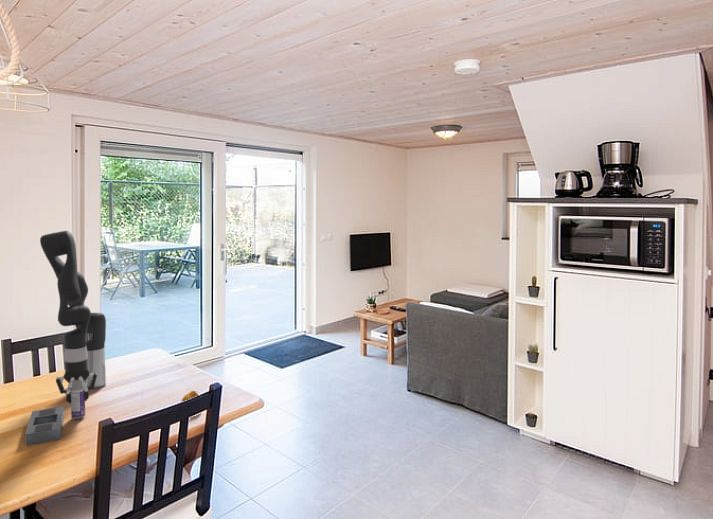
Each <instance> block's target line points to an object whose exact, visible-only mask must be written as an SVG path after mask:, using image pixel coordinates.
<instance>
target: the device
mask: <svg viewBox="0 0 713 519" xmlns="http://www.w3.org/2000/svg"><path fill="white" fill-rule="evenodd" d="M64 408H65V407H64V406H58V407H52V408H44V409H39V410H33V411H31V414H30V419H29V421H28V424H27V427H26V430H25V433H24V436H25V438H24V439H25V446H31V445H36V444H37V445H38V444H43V443H48V442H53V441H58V440H61V436H62V430H63V424H64V418H65V412H64V410H65V409H64Z"/></svg>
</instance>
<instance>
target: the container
mask: <svg viewBox="0 0 713 519" xmlns="http://www.w3.org/2000/svg"><path fill="white" fill-rule="evenodd" d="M84 392H85V390H84V388H83V386H82V381H81V380H79V379H75V380H73V382H72V388H71V390H70V394H71V403H70V415H71V416H70V417H71V418H72V419H75V420H77V419H82V418H84V417H85V416H86V401H85V398H84Z"/></svg>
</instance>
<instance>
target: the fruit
mask: <svg viewBox="0 0 713 519" xmlns="http://www.w3.org/2000/svg"><path fill="white" fill-rule="evenodd" d="M198 395H199V393H198V392H197V391H196V390H195V391H194V390H192V391H190V392H187V393H186V394H185V395H184V396H183V397H182V398H181V402H182V401H185V400H188V399H190V398H193V397H195V396H198ZM199 396H200V395H199ZM181 402H180V403H181Z"/></svg>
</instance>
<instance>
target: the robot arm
mask: <svg viewBox="0 0 713 519" xmlns="http://www.w3.org/2000/svg"><path fill="white" fill-rule="evenodd" d="M39 242H40V246H41V249H42V252H43V253H44V255H45V257H46V259H47V261H48V263H49V264H50V266H51V268H52V269H53V272H54V274H55V277H56V279H57V281H56V282H57V291H58V295H59V308H58V314H57V321H58V323H59V324H60V325H61V326H62V327H70V326H75V329H72V330H69V331H67V332H66V333H64V337H63V339H64V351H63V352H64V353H63V354H64V356H63V357H64V358H63V360H64V374H63V376H56V378H55V383H56V386H57V388H58V390H59V393H60V394H64V395H65V398H66V399H65V400H66V402H67V403H68V404H71V394H70V390H71V388H72V382H73V380H75V379H79V380H81V381H82V386H83V388H84V390H85V392H84V398H85V402H87V401H88V400H89V398H90V395H89V394H90V393H89V391H91V390H93V389H97V388H100V387H104V386H106V384H107V382H106V381H107V378H106V377H107V376H106V375H107V374H106V355H105V354H106V351H105V350H106V348H105V344H106V329H107V327H106V326H107V320H106V316H105V314H104V313H102V312H91V309H90V308H89V307H88V306H87V305H84V304H85V300H86V298H87V297H88V293H89V287H88V284H87V282H86V279H85V277H84V276H83V274H82V273H80V272H79V271H78V262H77V261H78V260H77V248H76V241H75V239H74V236H73V234H72V232H71V231H69V230H61V231H57V232H52V233H47V234H43V235H41V237H40V239H39ZM65 255H66V260H65V262H64V261H62V259H61V258H60V256H65ZM87 334H91V335H92V336H91V338H89V339H87ZM64 380H65V381H66V382H67V383H68V384H67V388H65V387H64V384H63V383H64Z"/></svg>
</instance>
